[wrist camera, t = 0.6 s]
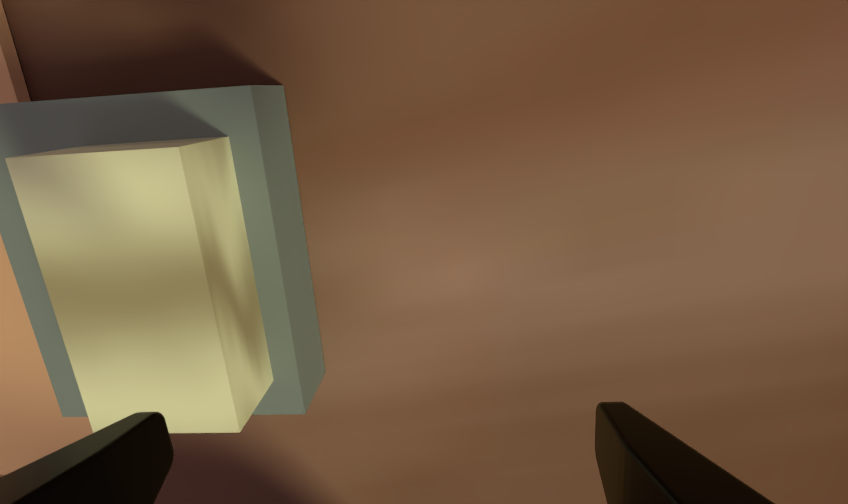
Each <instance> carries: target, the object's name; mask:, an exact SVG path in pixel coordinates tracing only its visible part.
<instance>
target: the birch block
mask: <svg viewBox="0 0 848 504" xmlns="http://www.w3.org/2000/svg"><path fill="white" fill-rule="evenodd" d="M5 160H6V163H7V167H8V170H9V173H10V176H11V179H12V182H13V185H14V188H15V191H16V195H17V198H18V201H19V204H20V207H21V210H22V213H23V216H24V219H25V222H26V226H27V229H28V232H29V235H30V238H31V241H32V244H33V247H34V250H35V254H36V257H37V260H38V263H39V266H40V269H41V272H42V275H43V278H44V281H45V285H46V288H47V291H48V294H49V297H50V300H51V303H52V306H53V309H54V313H55V316H56V319H57V322H58V325H59V328H60V331H61V334H62V337H63V340H64V344H65V347H66V350H67V353H68V356H69V359H70V362H71V365H72V368H73V372H74V375H75V378H76V381H77V384H78V387H79V390H80V393H81V396H82V399H83V403H84V406H85V409H86V412H87V415H88V418H89V421H90V424H91V427H92V431H93V433H94V432H96V431H98V430H101V429H103V428H105V427H107V426H109V425H111V424H113V423H115V422H117V421H119V420H121V419H124V418H126V417H128V416H130V415H132V414H134V413H137V412H159V413H161V414H162V415H163V416H164V418H165V420H166V424H167V428H168V432H169V433H240V432H241V430H242V428H243V427H244V425H245V424H246V422H247V421H248V419H249V418H250V416H251V415H252V413H253V411H254V410H255V408H256V407H257V405H258V404H259V402H260V401H261V399H262V398H263V396H264V394H265V393H266V391H267V390H268V388H269V387H270V385H271V384H272V382H273V381H274V380H273V375H272V369H271V364H270V359H269V353H268V348H267V342H266V337H265V331H264V326H263V320H262V315H261V310H260V304H259V299H258V293H257V288H256V282H255V277H254V271H253V266H252V261H251V255H250V250H249V244H248V239H247V233H246V228H245V222H244V217H243V212H242V206H241V201H240V195H239V190H238V184H237V179H236V173H235V168H234V163H233V157H232V152H231V146H230V141H229V136H228V137H213V138H198V139H182V140H167V141H152V142H136V143H121V144H106V145H91V146H80V147H74V148H67V149H61V150H54V151H48V152H41V153H35V154H28V155H22V156H15V157H9V158H5Z"/></svg>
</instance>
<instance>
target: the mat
mask: <svg viewBox="0 0 848 504" xmlns="http://www.w3.org/2000/svg"><path fill="white" fill-rule="evenodd" d="M18 102H31V100H30V97H29V93H28V90H27V86H26V83H25V80H24V76H23V73H22V70H21V66H20V63H19V59H18V56H17V53H16V49H15V46H14V43H13V39H12V36H11V32H10V29H9V26H8V22H7V19H6V15H5V12H4V9H3V5H2V2H1V0H0V104H5V103H18ZM92 433H93V431H92V427H91V424H90V421H89V418H88V417H63V416H62V413H61V410H60V407H59V405H58V402H57V399H56V396H55V393H54V390H53V387H52V384H51V381H50V378H49V375H48V372H47V369H46V366H45V363H44V360H43V358H42V355H41V352H40V349H39V346H38V343H37V340H36V337H35V334H34V331H33V328H32V325H31V322H30V319H29V316H28V313H27V311H26V308H25V305H24V302H23V299H22V296H21V293H20V290H19V287H18V284H17V281H16V278H15V275H14V272H13V269H12V266H11V264H10V261H9V258H8V255H7V252H6V249H5V246H4V243H3V240H2V237H1V234H0V475H7V474H9V473H11V472H13V471H15V470H17V469H19V468H21V467H23V466H25V465H27V464H30V463H32V462H34V461H36V460H38V459H40V458H42V457H44V456H46V455H48V454H50V453H53V452H55V451H57V450H59V449H61V448H63V447H65V446H67V445H69V444H71V443H73V442H75V441H78V440H80V439H82V438H84V437H86V436H88V435H90V434H92Z"/></svg>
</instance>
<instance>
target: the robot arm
mask: <svg viewBox="0 0 848 504" xmlns="http://www.w3.org/2000/svg"><path fill="white" fill-rule="evenodd" d="M595 453H596V459H597V464H598V468H599V472H600V476H601V480H602V484H603V488H604V492H605V496H606V500H607V504H775V503H773V502H772V501H770V500H769V499H767V498H766V497H764V496H763V495H761V494H760V493H758V492H757V491H755V490H754V489H752V488H751V487H749V486H748V485H746V484H745V483H743V482H742V481H740V480H739V479H737V478H736V477H734V476H733V475H731V474H730V473H729V472H727V471H726V470H724V469H723V468H721V467H720V466H718V465H717V464H715V463H714V462H712V461H711V460H709V459H708V458H706V457H705V456H703V455H702V454H700V453H699V452H697V451H696V450H694V449H693V448H691V447H690V446H688V445H687V444H685V443H684V442H683V441H681V440H680V439H678V438H677V437H675V436H674V435H672V434H671V433H669V432H668V431H666V430H665V429H663V428H662V427H660V426H659V425H657V424H656V423H654V422H653V421H651V420H650V419H648V418H647V417H645V416H644V415H642V414H641V413H639V412H638V411H636V410H635V409H634V408H632V407H631V406H629V405H628V404H626V403H624V402H600V403H599V404H598V405H597V408H596V426H595ZM173 456H174V454H173V447H172V443H171V439H170V435H169V432H168V428H167V424H166V420H165V418H164V416H163V415H162V414H161V413H159V412H137V413H134V414H132V415H130V416H128V417H126V418H124V419H121V420H119V421H117V422H115V423H113V424H111V425H109V426H107V427H105V428H103V429H101V430H98V431H96V432H94V433H92V434H90V435H88V436H86V437H84V438H82V439H80V440H78V441H75V442H73V443H71V444H69V445H67V446H65V447H63V448H61V449H59V450H57V451H55V452H53V453H50V454H48V455H46V456H44V457H42V458H40V459H38V460H36V461H34V462H32V463H30V464H27V465H25V466H23V467H21V468H19V469H17V470H15V471H13V472H11V473H9V474H7V475H4V476H2V477H0V504H154V502H155V500H156V498H157V495H158V493H159V491H160V489H161V487H162V485H163V483H164V480H165V478H166V476H167V474H168V472H169V470H170V468H171V465H172V462H173Z"/></svg>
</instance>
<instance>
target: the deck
mask: <svg viewBox="0 0 848 504" xmlns="http://www.w3.org/2000/svg"><path fill="white" fill-rule="evenodd" d="M228 136H229V141H230V146H231V152H232V157H233V163H234V168H235V173H236V179H237V184H238V190H239V195H240V201H241V206H242V212H243V217H244V222H245V228H246V233H247V239H248V244H249V250H250V255H251V261H252V266H253V271H254V277H255V282H256V288H257V293H258V299H259V304H260V310H261V315H262V320H263V326H264V331H265V337H266V342H267V348H268V353H269V359H270V364H271V369H272V375H273V380H274V381H273V382H272V384H271V385H270V387H269V388H268V390H267V391H266V393H265V394H264V396H263V398H262V399H261V401H260V402H259V404H258V405H257V407H256V408H255V410H254V411H253V413H252V415H273V414H305V413H306V411H307V409H308V407H309V405H310V403H311V401H312V399H313V397H314V394H315V392H316V390H317V388H318V386H319V384H320V382H321V380H322V378H323V376H324V374H325V366H324V359H323V352H322V346H321V339H320V332H319V325H318V318H317V311H316V305H315V298H314V291H313V284H312V277H311V270H310V264H309V257H308V250H307V243H306V236H305V229H304V222H303V216H302V209H301V202H300V195H299V188H298V181H297V175H296V168H295V161H294V154H293V147H292V140H291V134H290V127H289V120H288V113H287V106H286V99H285V93H284V86H283V85H245V86H232V87H219V88H205V89H192V90H179V91H165V92H152V93H139V94H125V95H112V96H98V97H85V98H72V99H58V100H45V101H32V102H18V103H5V104H0V234H1V237H2V240H3V243H4V246H5V249H6V252H7V255H8V258H9V261H10V264H11V266H12V269H13V272H14V275H15V278H16V281H17V284H18V287H19V290H20V293H21V296H22V299H23V302H24V305H25V308H26V311H27V313H28V316H29V319H30V322H31V325H32V328H33V331H34V334H35V337H36V340H37V343H38V346H39V349H40V352H41V355H42V358H43V360H44V363H45V366H46V369H47V372H48V375H49V378H50V381H51V384H52V387H53V390H54V393H55V396H56V399H57V402H58V405H59V407H60V410H61V413H62V416H63V417H88V415H87V412H86V409H85V406H84V403H83V399H82V396H81V393H80V390H79V387H78V384H77V381H76V378H75V375H74V372H73V368H72V365H71V362H70V359H69V356H68V353H67V350H66V347H65V344H64V340H63V337H62V334H61V331H60V328H59V325H58V322H57V319H56V316H55V313H54V309H53V306H52V303H51V300H50V297H49V294H48V291H47V288H46V285H45V281H44V278H43V275H42V272H41V269H40V266H39V263H38V260H37V257H36V254H35V250H34V247H33V244H32V241H31V238H30V235H29V232H28V229H27V226H26V222H25V219H24V216H23V213H22V210H21V207H20V204H19V201H18V198H17V195H16V191H15V188H14V185H13V182H12V179H11V176H10V173H9V170H8V167H7V163H6V160H5V158H9V157H15V156H22V155H28V154H35V153H41V152H48V151H54V150H61V149H67V148H74V147H80V146H91V145H106V144H121V143H136V142H152V141H167V140H182V139H198V138H213V137H228Z"/></svg>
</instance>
